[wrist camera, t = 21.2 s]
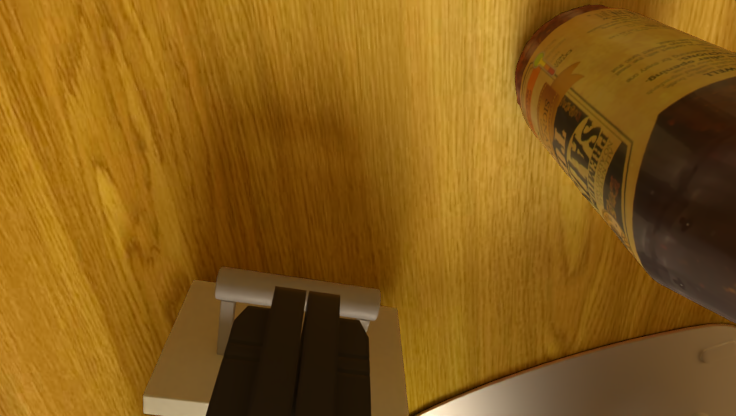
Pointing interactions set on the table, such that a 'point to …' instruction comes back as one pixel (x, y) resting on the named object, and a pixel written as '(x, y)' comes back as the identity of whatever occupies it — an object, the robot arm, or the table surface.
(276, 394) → the robot arm
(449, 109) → the table surface
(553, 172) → the table surface
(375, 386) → the drawer with bar handle
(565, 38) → the sauce bottle
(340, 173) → the table surface
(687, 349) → the laptop stand
